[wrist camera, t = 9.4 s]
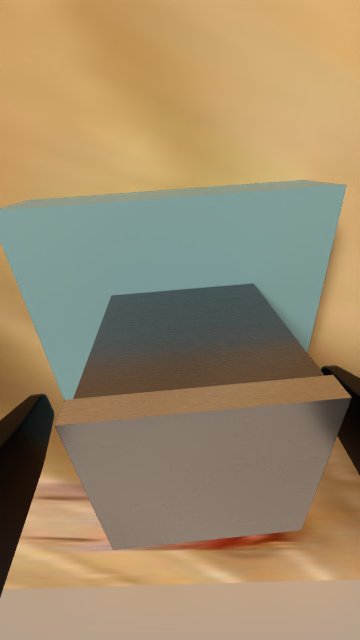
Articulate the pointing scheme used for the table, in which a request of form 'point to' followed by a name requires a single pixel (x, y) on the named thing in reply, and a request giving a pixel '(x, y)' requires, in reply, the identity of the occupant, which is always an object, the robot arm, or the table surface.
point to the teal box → (166, 254)
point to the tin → (199, 419)
